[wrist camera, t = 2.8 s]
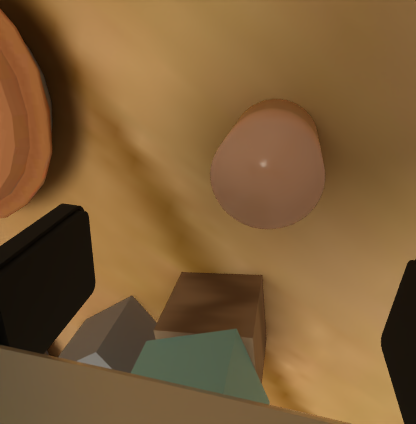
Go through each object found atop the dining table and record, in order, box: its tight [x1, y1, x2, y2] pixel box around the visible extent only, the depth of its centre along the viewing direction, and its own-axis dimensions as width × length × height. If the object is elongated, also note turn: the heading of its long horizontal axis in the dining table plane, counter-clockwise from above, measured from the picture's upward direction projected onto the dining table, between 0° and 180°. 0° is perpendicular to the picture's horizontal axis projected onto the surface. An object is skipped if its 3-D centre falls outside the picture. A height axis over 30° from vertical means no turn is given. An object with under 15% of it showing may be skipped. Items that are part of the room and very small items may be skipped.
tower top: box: [131, 329, 269, 404], centre depth 19 cm, size 6×6×6 cm
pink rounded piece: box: [210, 99, 325, 229], centre depth 18 cm, size 5×5×6 cm
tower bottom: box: [154, 272, 266, 384], centre depth 25 cm, size 6×6×6 cm
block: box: [58, 296, 157, 373], centre depth 28 cm, size 6×6×6 cm
